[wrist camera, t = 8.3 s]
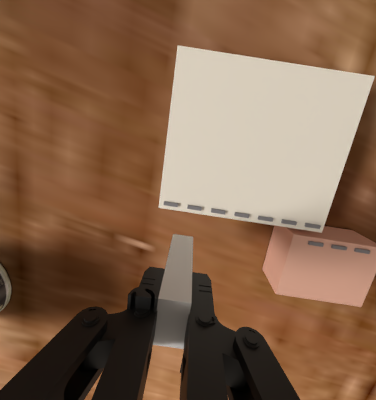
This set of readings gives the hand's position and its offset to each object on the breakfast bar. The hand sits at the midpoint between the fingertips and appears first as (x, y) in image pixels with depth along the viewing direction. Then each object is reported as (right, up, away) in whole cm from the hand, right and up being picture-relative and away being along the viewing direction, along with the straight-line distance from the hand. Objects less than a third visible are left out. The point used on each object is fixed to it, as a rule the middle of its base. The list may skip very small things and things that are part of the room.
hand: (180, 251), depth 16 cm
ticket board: (+6, +9, +4) cm, 12 cm away
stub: (+13, -1, +7) cm, 15 cm away
